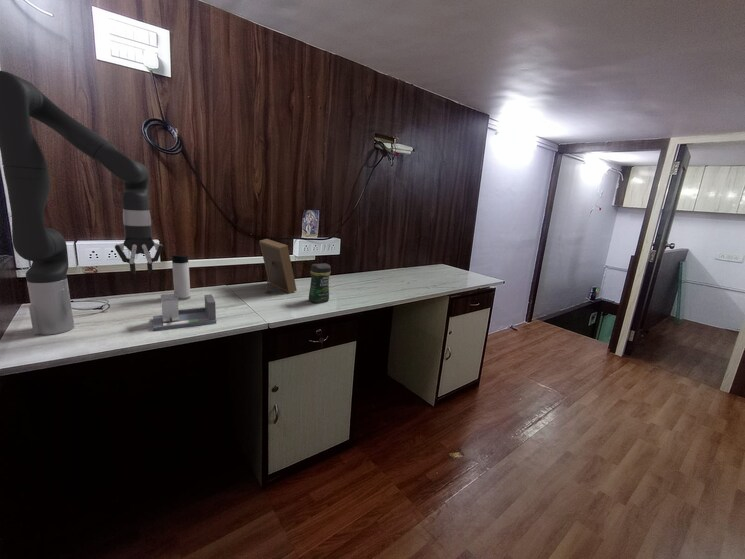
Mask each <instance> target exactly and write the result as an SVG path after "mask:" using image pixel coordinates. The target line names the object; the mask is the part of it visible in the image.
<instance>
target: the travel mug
mask: <svg viewBox="0 0 745 559" xmlns="http://www.w3.org/2000/svg"><path fill="white" fill-rule="evenodd" d="M171 261H172V262H171V264H172V266H171V267H172V279H173V294H176V293H177V296H178V301H186V300H189V299H190V298H191V282H190V266H189V264H190V263H189V256H188V255H182V254H181V255H180V254H173V255H172V256H171Z"/></svg>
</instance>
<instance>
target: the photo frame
mask: <svg viewBox="0 0 745 559" xmlns="http://www.w3.org/2000/svg"><path fill="white" fill-rule="evenodd" d="M258 241H259V242H258V243H259V246H260V251H261V255H262V259H263V263H264V266H265V271H266V275H267V282H266V288H265V294H267V293H268V289H269V284H270V285H271V286H274V287H276V288H278V289H280V290H282V291H284V292H286V293H288V294H291V293H294V292H296V291H297V285H296V282H295V281H296V280H295V275H294V271H293V266H292V261H291V256H290V251H289V245H287V244H285V243H281V242H277V241H275V240H271V239H269V238H264V239H261V240H258Z"/></svg>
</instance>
